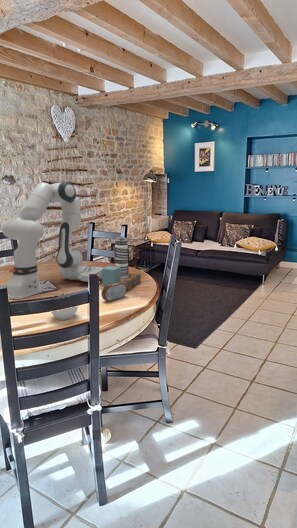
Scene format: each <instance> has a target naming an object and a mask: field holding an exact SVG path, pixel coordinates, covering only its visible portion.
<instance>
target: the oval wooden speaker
mask: <svg viewBox="0 0 297 528" xmlns="http://www.w3.org/2000/svg"><path fill="white" fill-rule="evenodd" d="M126 291H127V286H126V285H125V284H124V283H122V281H121V282H117V283H112V284H108V285H106V286H103V289H102V291H101V297H102V299H103V300H104V301H106V302H112V301H117V300H119V299H122V298H124V297H125V295H126V294H127V292H128V291H127V292H126Z"/></svg>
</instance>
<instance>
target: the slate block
mask: <svg viewBox="0 0 297 528" xmlns="http://www.w3.org/2000/svg"><path fill="white" fill-rule="evenodd" d="M115 266H116V265H115ZM115 266H113V265H108V266H106V267H102V268H103V269H102V277H101V283H102V284H101V286H102V287H105V286H106V285H108V284H112V283H117V282H122V281H121V279H122V278H121V267H115Z"/></svg>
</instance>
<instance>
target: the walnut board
mask: <svg viewBox="0 0 297 528" xmlns="http://www.w3.org/2000/svg"><path fill="white" fill-rule="evenodd" d="M141 275H142V273H134V274H133V275H131V276H129V277H127V278H125V279H124V280H123V281H121V282H122V283H124V284H125V285H126V286H127V291H126V293H127V292H128V291H129V290H131V289H132V288H133V287H135V286H136V285H138V284H140V283H141V282H142V277H141Z"/></svg>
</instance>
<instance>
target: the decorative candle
mask: <svg viewBox="0 0 297 528" xmlns="http://www.w3.org/2000/svg"><path fill="white" fill-rule="evenodd" d="M128 240H129V239H128V238H127V237H125V236H117V237H116V239H115V240H114V241H115V245H114V246H113V248H114V249H113V250H114V259H115V267H121V279H127V278H129V277H130V276H129V275H130V273H129V272H130V271H129V262H128V261H129V260H128V259H129V256H130V255H129V253H130V251H129V250H130V249H129V245H128V244H129V243H128Z"/></svg>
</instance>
